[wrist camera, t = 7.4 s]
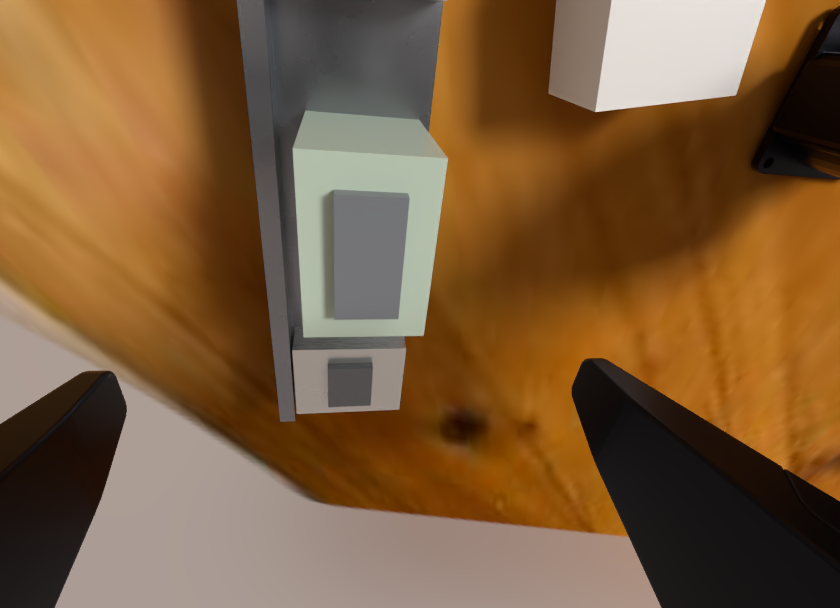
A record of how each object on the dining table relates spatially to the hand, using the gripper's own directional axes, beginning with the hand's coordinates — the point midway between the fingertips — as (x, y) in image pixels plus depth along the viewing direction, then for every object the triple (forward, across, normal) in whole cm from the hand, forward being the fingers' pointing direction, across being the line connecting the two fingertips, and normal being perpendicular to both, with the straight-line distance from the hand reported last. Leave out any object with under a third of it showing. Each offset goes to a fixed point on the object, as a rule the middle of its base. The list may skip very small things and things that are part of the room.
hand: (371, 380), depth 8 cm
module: (+10, 0, 0) cm, 10 cm away
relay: (+12, -10, -7) cm, 17 cm away
